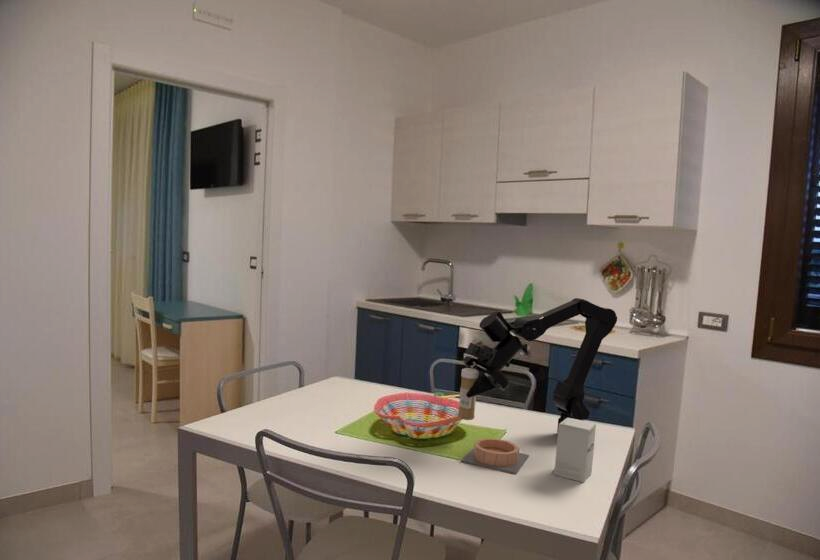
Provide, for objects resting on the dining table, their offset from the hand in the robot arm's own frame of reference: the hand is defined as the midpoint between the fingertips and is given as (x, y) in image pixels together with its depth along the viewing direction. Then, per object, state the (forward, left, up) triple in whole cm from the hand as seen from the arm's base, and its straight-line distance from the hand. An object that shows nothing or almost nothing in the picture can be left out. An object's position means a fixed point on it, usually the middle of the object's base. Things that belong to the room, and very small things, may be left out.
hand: (463, 394), depth 156 cm
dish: (-12, +7, -13) cm, 19 cm away
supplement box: (-31, +6, -13) cm, 34 cm away
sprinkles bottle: (-1, -1, -7) cm, 7 cm away
